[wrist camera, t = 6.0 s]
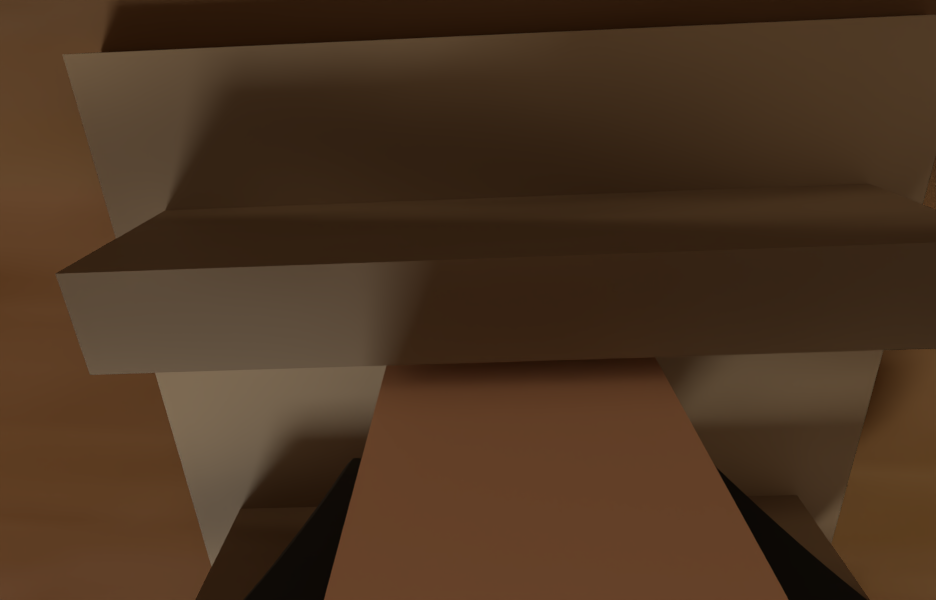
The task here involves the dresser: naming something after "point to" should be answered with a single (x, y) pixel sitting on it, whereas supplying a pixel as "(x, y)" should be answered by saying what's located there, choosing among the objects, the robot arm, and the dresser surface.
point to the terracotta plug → (541, 491)
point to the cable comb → (510, 242)
